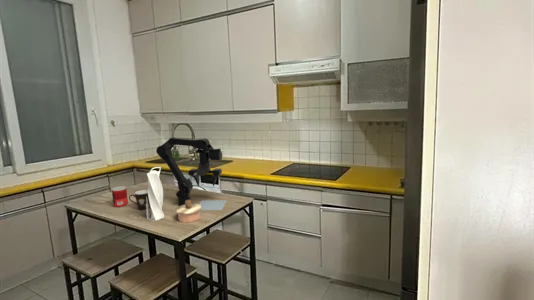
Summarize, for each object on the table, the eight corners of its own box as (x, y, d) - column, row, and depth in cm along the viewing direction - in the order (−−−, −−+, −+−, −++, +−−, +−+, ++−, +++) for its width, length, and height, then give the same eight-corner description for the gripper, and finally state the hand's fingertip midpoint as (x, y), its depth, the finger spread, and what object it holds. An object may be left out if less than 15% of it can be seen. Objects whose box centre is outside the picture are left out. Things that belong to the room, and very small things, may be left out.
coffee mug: (155, 206, 176) (153, 190, 175) (144, 211, 168) (143, 194, 167) (139, 204, 180) (138, 189, 178) (129, 209, 172) (127, 193, 170)
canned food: (130, 203, 182) (128, 186, 180) (119, 208, 175) (117, 190, 173) (122, 202, 185) (120, 185, 184) (110, 206, 178) (108, 189, 176)
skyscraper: (160, 214, 164) (155, 165, 160) (168, 217, 159) (164, 167, 154) (146, 219, 158) (141, 168, 153) (154, 222, 153) (149, 170, 148)
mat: (193, 210, 167) (193, 209, 167) (201, 201, 183) (201, 200, 183) (221, 210, 166) (221, 209, 166) (227, 201, 182) (227, 200, 182)
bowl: (175, 222, 151) (174, 213, 150) (182, 214, 162) (182, 205, 161) (196, 222, 150) (195, 213, 150) (202, 214, 161) (201, 205, 160)
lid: (172, 214, 149) (171, 204, 149) (181, 205, 162) (180, 196, 161) (197, 214, 149) (196, 204, 148) (204, 205, 161) (203, 196, 161)
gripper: (183, 163, 164) (185, 190, 167) (215, 163, 162) (217, 190, 164) (191, 159, 175) (192, 184, 177) (221, 159, 173) (222, 184, 175)
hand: (206, 186), depth 173 cm, fingers open, 9 cm apart
